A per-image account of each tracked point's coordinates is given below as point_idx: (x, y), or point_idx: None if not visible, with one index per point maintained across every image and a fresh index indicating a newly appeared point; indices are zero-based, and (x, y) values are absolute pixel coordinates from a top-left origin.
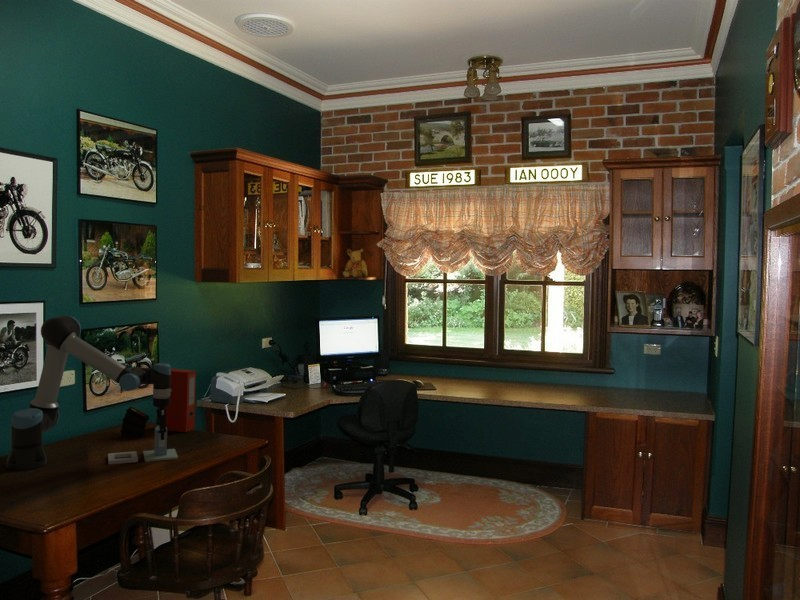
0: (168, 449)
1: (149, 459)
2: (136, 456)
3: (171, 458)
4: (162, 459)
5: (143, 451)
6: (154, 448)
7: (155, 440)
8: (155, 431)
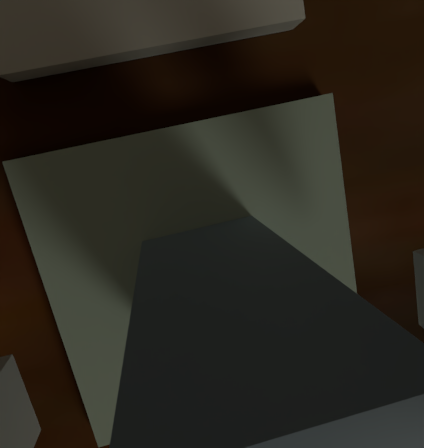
0: None
1: (18, 203)
2: (87, 46)
3: (84, 390)
4: (59, 318)
5: (321, 97)
6: (247, 231)
7: (132, 314)
8: (167, 419)
